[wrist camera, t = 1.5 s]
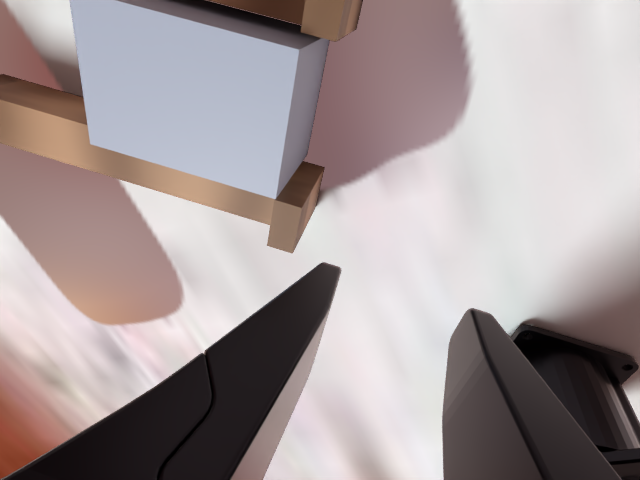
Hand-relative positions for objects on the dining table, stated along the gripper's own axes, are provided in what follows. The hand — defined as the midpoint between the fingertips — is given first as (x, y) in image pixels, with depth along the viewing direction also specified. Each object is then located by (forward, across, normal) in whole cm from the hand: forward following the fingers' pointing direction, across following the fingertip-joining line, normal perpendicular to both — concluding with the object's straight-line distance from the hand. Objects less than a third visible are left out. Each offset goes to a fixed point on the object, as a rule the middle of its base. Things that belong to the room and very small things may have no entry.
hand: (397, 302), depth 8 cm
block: (+12, +8, 0) cm, 15 cm away
